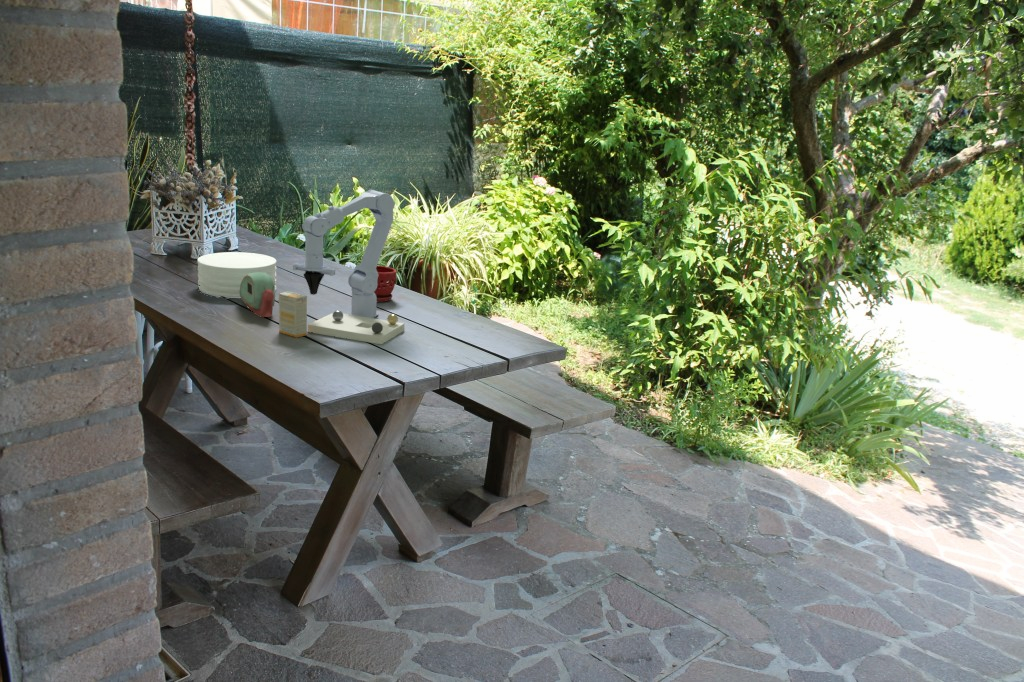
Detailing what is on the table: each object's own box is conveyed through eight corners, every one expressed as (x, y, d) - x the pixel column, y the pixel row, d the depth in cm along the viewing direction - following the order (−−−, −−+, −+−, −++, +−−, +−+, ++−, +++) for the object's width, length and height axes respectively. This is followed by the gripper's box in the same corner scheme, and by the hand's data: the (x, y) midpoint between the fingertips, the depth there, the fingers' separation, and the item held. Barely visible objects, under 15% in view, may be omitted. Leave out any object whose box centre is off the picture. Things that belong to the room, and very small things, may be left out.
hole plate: (334, 319, 295) (334, 312, 294) (404, 330, 289) (404, 323, 288) (307, 331, 278) (307, 324, 278) (381, 344, 272) (381, 336, 271)
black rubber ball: (374, 330, 277) (374, 320, 276) (384, 332, 276) (384, 322, 275) (369, 333, 274) (370, 323, 273) (379, 335, 273) (380, 324, 272)
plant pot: (382, 305, 317) (383, 274, 314) (353, 299, 322) (354, 268, 319) (401, 299, 329) (403, 268, 325) (373, 293, 334) (374, 263, 330)
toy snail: (237, 303, 305) (237, 265, 301) (258, 301, 309) (258, 264, 305) (259, 321, 285) (259, 281, 281) (282, 320, 289) (282, 280, 285)
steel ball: (335, 318, 287) (335, 308, 286) (345, 320, 286) (345, 310, 285) (330, 321, 283) (330, 311, 282) (340, 322, 283) (340, 312, 282)
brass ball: (389, 322, 288) (390, 312, 287) (399, 323, 287) (399, 313, 286) (385, 324, 285) (385, 314, 284) (395, 326, 284) (395, 316, 283)
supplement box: (307, 335, 275) (307, 295, 271) (295, 338, 271) (296, 298, 268) (290, 329, 280) (290, 290, 276) (278, 332, 276) (278, 292, 272)
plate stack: (261, 279, 342) (261, 250, 339) (287, 296, 320) (287, 265, 317) (189, 283, 326) (188, 253, 323) (210, 301, 304) (210, 270, 301)
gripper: (288, 252, 279) (287, 293, 283) (328, 258, 275) (327, 299, 279) (299, 249, 285) (298, 288, 289) (338, 254, 282) (337, 295, 286)
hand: (313, 293), depth 285 cm, fingers closed
